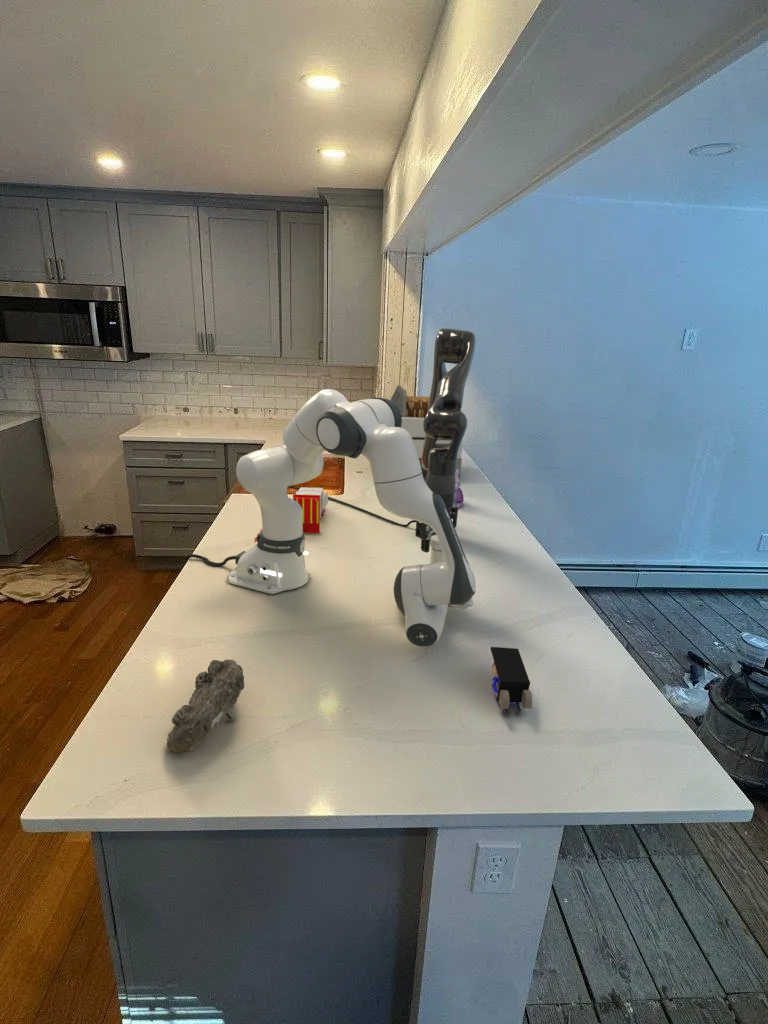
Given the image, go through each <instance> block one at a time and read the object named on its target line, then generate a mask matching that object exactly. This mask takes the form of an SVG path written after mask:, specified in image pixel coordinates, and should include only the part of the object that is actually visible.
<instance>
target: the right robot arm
mask: <svg viewBox="0 0 768 1024" xmlns="http://www.w3.org/2000/svg"><path fill="white" fill-rule="evenodd" d="M475 350H476V335H475V333H473V331H470V330H464V329H458V328H448V327H443V328H440V329H439V330H438V331H437V334H436V336H435V341H434V351H433V366H432V379H431V387H430V393H429V397H430V399H429V406H428V412H427V414H426V416H425V419H424V422H423V429H424V432H425V439H424V444H423V449H422V456H421V463H422V466H421V468H423V470H426V471H427V472H426V477H425V479H424V480H425V482H426V484H427V486H428V487H429V489H430V490H431V491H432V492H433V493H436V494H439V495H440V496H441V498H442V499H443V501H444V503H445V505H446V507H447V509H448V512H449V514H450V517H451V519H452V522H453V525H454V527H455V529H456V527H457V525H458V514H459V508H458V507H456V506H453V503H454V492H455V471H456V460H457V454H458V450H459V447H460V444H461V441H463V439H464V437H465V434H466V431H467V428H468V418H467V415H465V413H464V412H463V411H462V407H463V402H464V394H465V389H466V388H465V387H466V383H467V380H468V377H469V374H470V372H471V371H470V370H471V367H472V363H473V360H474V356H475ZM446 364H453V365H455V366H454V367H452V368H451V369H450V370H448V371H447V366H446ZM460 410H461V412H460ZM438 438H439V439H449V440H451V442H450V443H449V444H448V443H436V441H437V439H438ZM287 488H290V489H294V490H296V491H298V490H299V489H300V488H301V487H297V486H294V485H292V486H288V487H287ZM323 496H324V494H323ZM328 500H330V501H334V502H337V503H339V504H342V505H345V506H347V507H351V508H353V509H356V510H358V511H361V512H363V513H366V514H369V515H371V516H374V517H376V518H379V519H380V520H383V521H386V522H388V523H391V524H393V525H396V526H398V527H403V528H408V527H409V526H410V525H411V524H414V523H415V537H416V538H419V539H421V540H420V550H421V552H423V553H426V554H427V553H430V549H431V546H430V539H431V537H432V536H434V535H436V533H435V531H434V530H433V529H432V528H431V527H430V526H428V525H427V524H425V523H422V522H419V521H416V520H412V519H411V520H409V521H408V522H407V524H401V523H399V522H396V521H394V520H391V519H389V518H386V517H383V516H381V515H380V514H379V515H378V514H376V513H373V512H371V511H369V510H366V509H364V508H362V507H359V506H356V505H353V504H351V503H348V502H346V501H343V500H339V499H337V498H334V497H330V496H328Z"/></svg>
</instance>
